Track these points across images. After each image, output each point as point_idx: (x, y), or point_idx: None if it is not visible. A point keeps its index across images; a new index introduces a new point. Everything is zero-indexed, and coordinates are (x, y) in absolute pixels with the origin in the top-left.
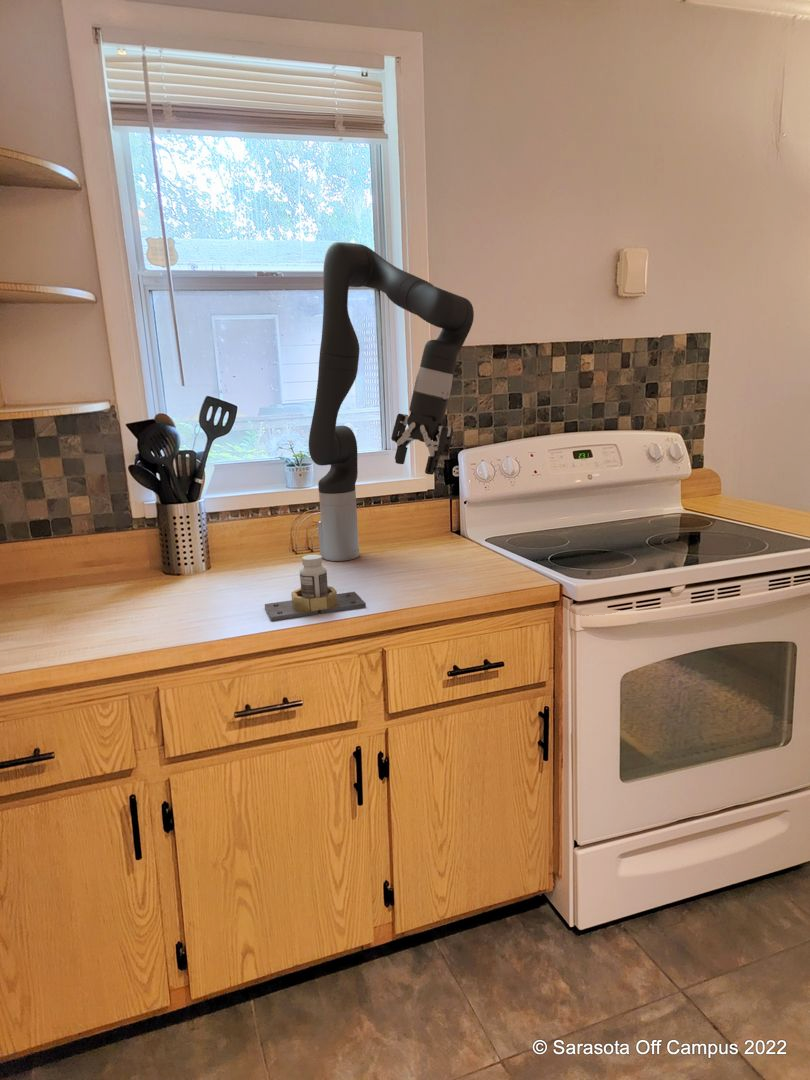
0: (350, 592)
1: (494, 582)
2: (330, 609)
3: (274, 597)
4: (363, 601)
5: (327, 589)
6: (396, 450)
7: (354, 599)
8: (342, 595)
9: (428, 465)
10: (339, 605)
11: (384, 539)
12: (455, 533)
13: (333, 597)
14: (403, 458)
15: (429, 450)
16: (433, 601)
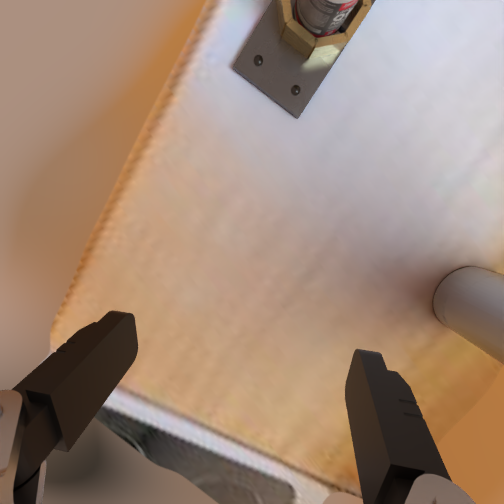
0: (302, 108)
1: (132, 303)
2: (271, 2)
3: (428, 24)
4: (244, 73)
5: (303, 10)
6: (431, 437)
7: (267, 75)
8: (303, 84)
9: (84, 339)
10: (268, 27)
11: (455, 418)
12: (361, 497)
13: (281, 13)
14: (352, 410)
15: (4, 441)
16: (152, 163)
